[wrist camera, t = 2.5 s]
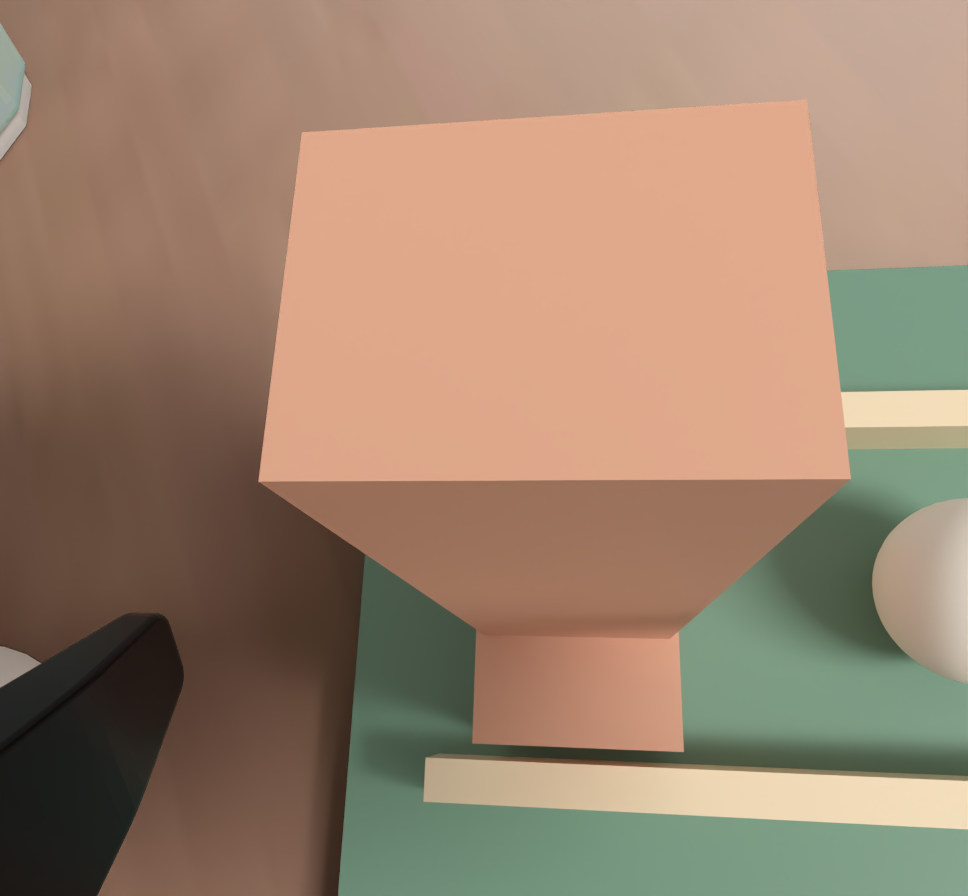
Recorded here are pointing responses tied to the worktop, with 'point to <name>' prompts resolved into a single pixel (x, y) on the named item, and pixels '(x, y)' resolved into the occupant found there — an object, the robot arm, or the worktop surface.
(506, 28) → the worktop surface
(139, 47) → the worktop surface
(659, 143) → the player
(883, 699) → the board
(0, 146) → the disposable coffee cup
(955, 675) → the ball
